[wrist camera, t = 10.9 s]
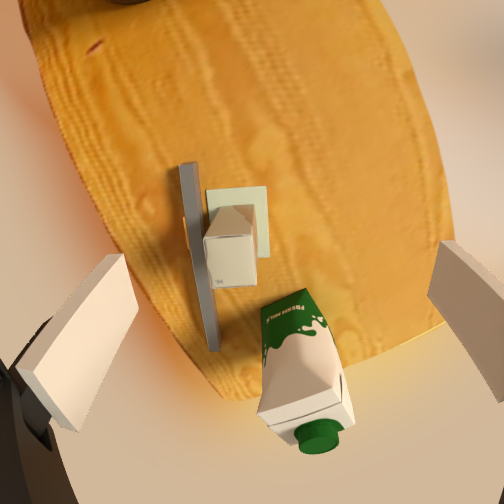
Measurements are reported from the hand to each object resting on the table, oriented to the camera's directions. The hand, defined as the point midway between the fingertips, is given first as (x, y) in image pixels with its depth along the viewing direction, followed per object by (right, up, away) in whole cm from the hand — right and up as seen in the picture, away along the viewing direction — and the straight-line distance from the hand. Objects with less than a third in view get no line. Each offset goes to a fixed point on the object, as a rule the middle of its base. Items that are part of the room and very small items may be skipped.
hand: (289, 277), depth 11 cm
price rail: (-8, -1, +27) cm, 28 cm away
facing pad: (-3, +4, +25) cm, 25 cm away
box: (-3, +4, +24) cm, 25 cm away
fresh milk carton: (+5, -8, +30) cm, 31 cm away
